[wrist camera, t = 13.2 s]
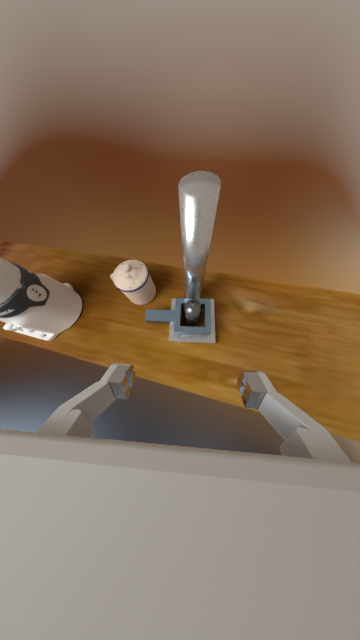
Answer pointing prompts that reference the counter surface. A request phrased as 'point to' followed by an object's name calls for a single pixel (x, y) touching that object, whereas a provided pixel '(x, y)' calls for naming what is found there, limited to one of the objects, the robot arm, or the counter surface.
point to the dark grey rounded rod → (192, 312)
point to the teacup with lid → (134, 281)
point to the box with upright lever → (193, 257)
